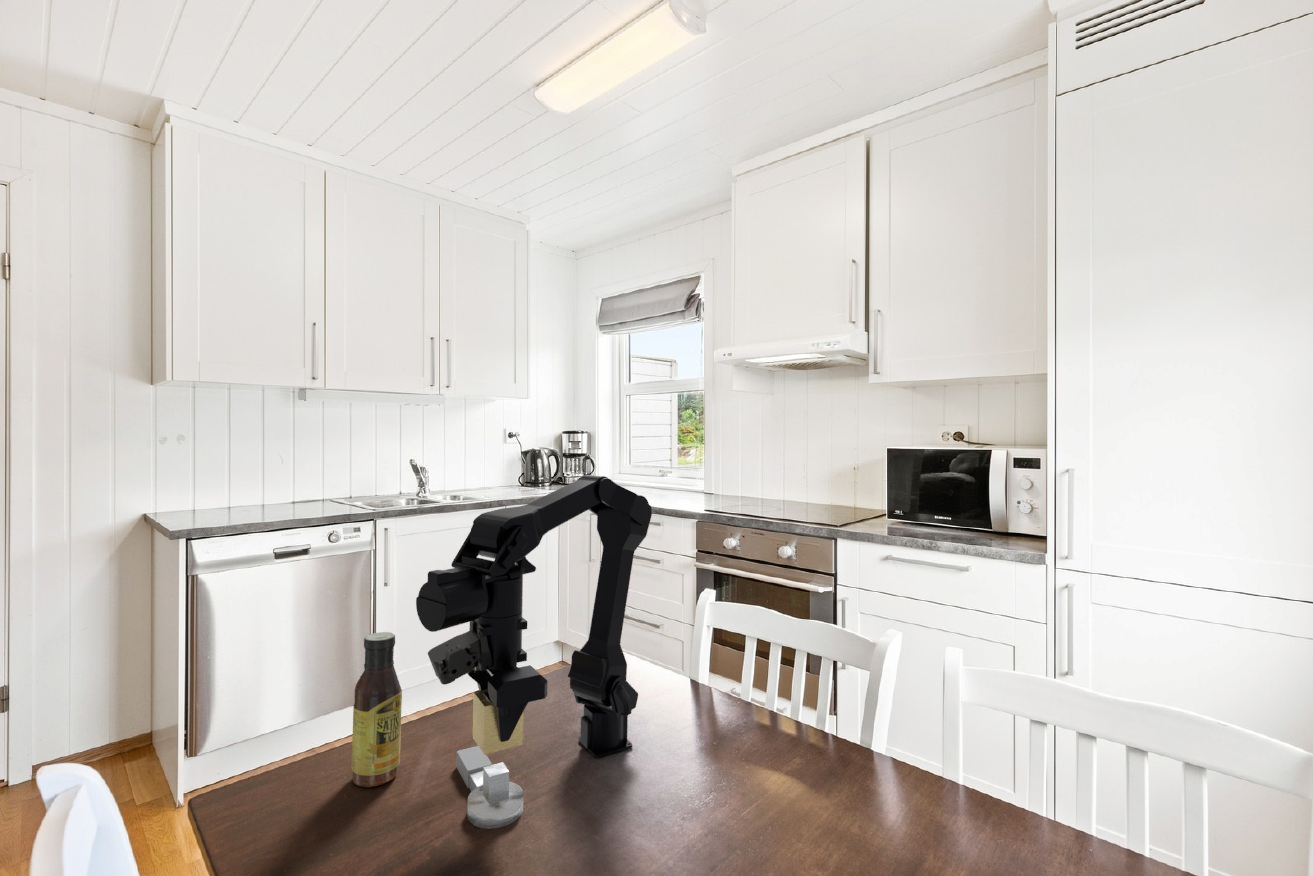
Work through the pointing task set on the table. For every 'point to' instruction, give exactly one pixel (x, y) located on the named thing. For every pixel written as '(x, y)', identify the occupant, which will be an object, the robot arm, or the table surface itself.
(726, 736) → the table surface
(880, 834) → the table surface
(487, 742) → the wooden toy block
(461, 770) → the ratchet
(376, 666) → the sauce bottle
